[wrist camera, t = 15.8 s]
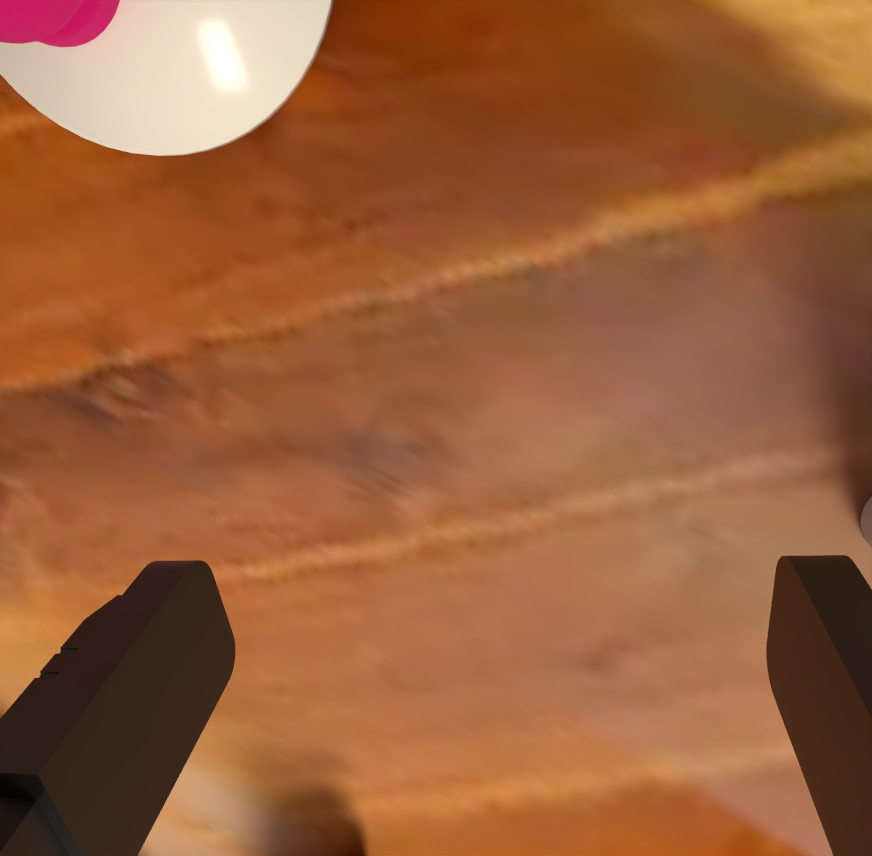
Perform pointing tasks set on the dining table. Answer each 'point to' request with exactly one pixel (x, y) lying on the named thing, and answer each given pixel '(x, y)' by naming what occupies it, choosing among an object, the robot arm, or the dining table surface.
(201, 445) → the dining table surface
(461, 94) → the dining table surface
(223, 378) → the dining table surface
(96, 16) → the pepper mill
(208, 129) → the plate
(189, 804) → the dining table surface
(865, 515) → the house plant
